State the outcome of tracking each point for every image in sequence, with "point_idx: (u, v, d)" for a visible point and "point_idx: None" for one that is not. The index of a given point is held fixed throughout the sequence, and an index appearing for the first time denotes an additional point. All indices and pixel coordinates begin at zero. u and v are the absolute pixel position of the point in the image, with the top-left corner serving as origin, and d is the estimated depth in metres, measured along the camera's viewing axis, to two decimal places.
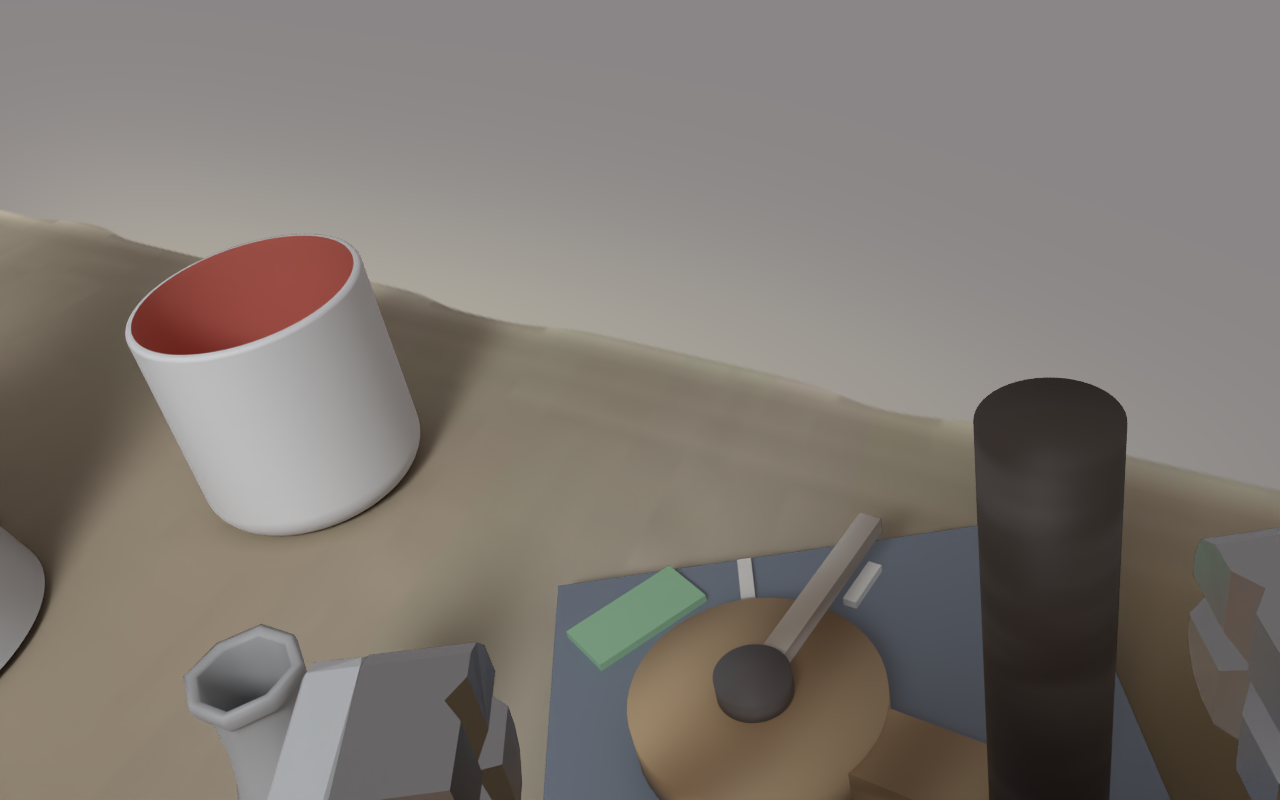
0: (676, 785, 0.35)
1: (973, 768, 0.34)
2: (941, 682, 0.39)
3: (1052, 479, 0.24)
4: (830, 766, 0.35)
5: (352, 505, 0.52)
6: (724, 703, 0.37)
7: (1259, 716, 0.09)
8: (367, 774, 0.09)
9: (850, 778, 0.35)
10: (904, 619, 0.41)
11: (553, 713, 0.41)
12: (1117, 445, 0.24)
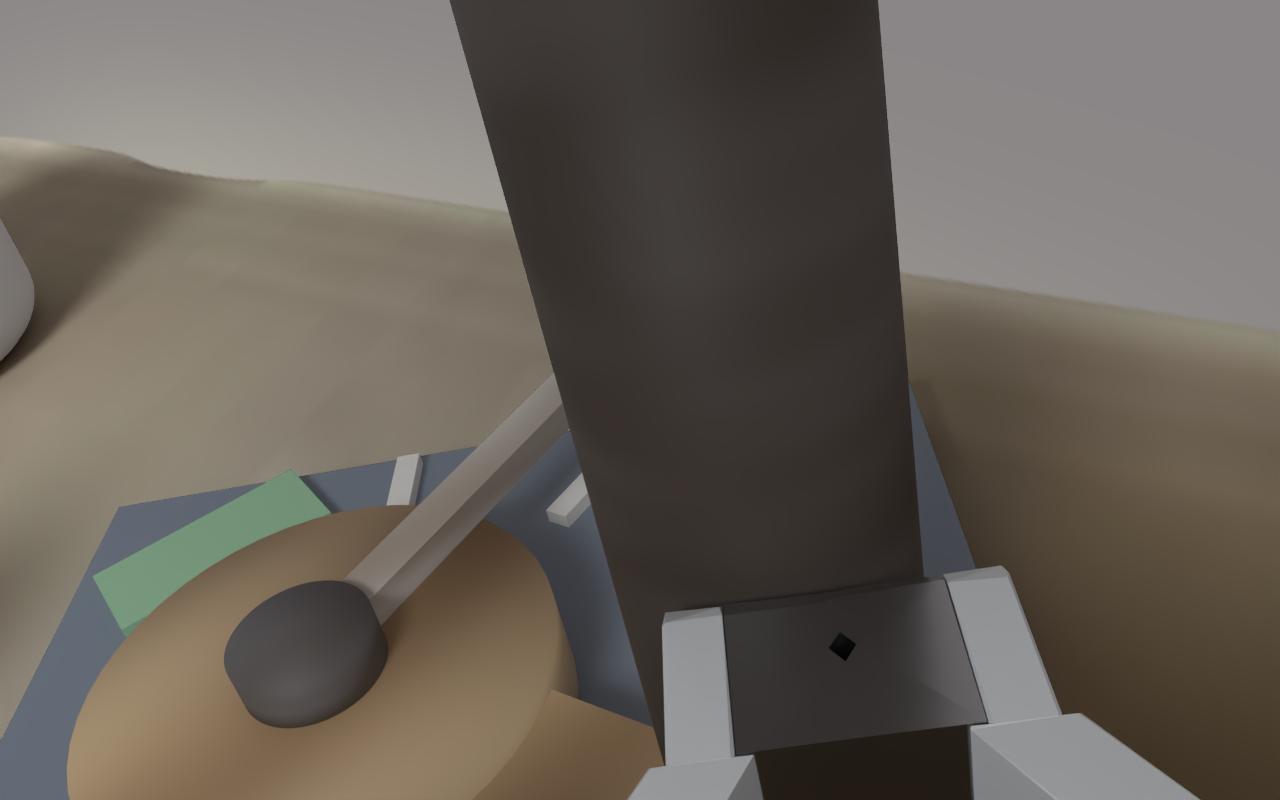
0: None
1: None
2: None
3: None
4: None
5: None
6: (238, 692, 0.19)
7: None
8: (769, 721, 0.09)
9: None
10: None
11: (20, 715, 0.23)
12: None
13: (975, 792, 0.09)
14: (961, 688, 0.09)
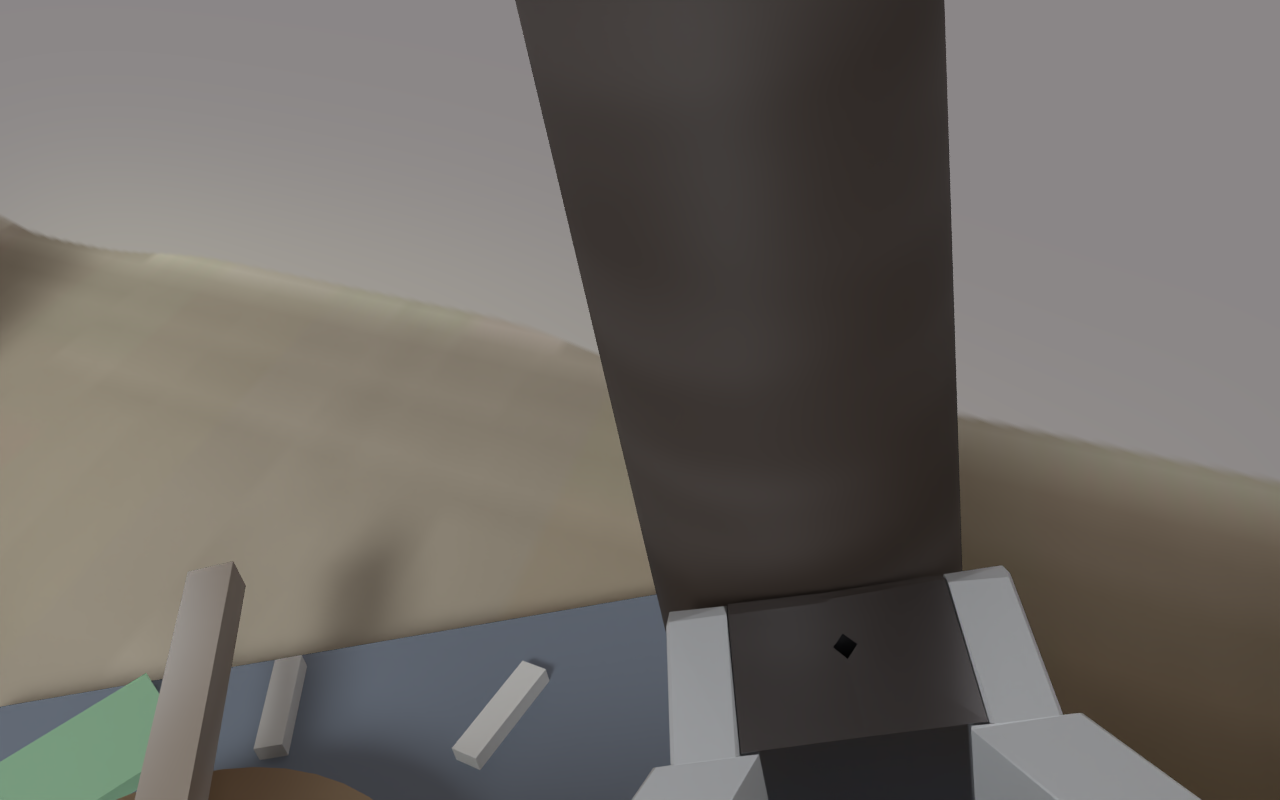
0: None
1: None
2: None
3: None
4: None
5: None
6: None
7: None
8: (775, 721, 0.09)
9: None
10: (570, 797, 0.19)
11: None
12: None
13: (975, 792, 0.09)
14: (962, 688, 0.09)
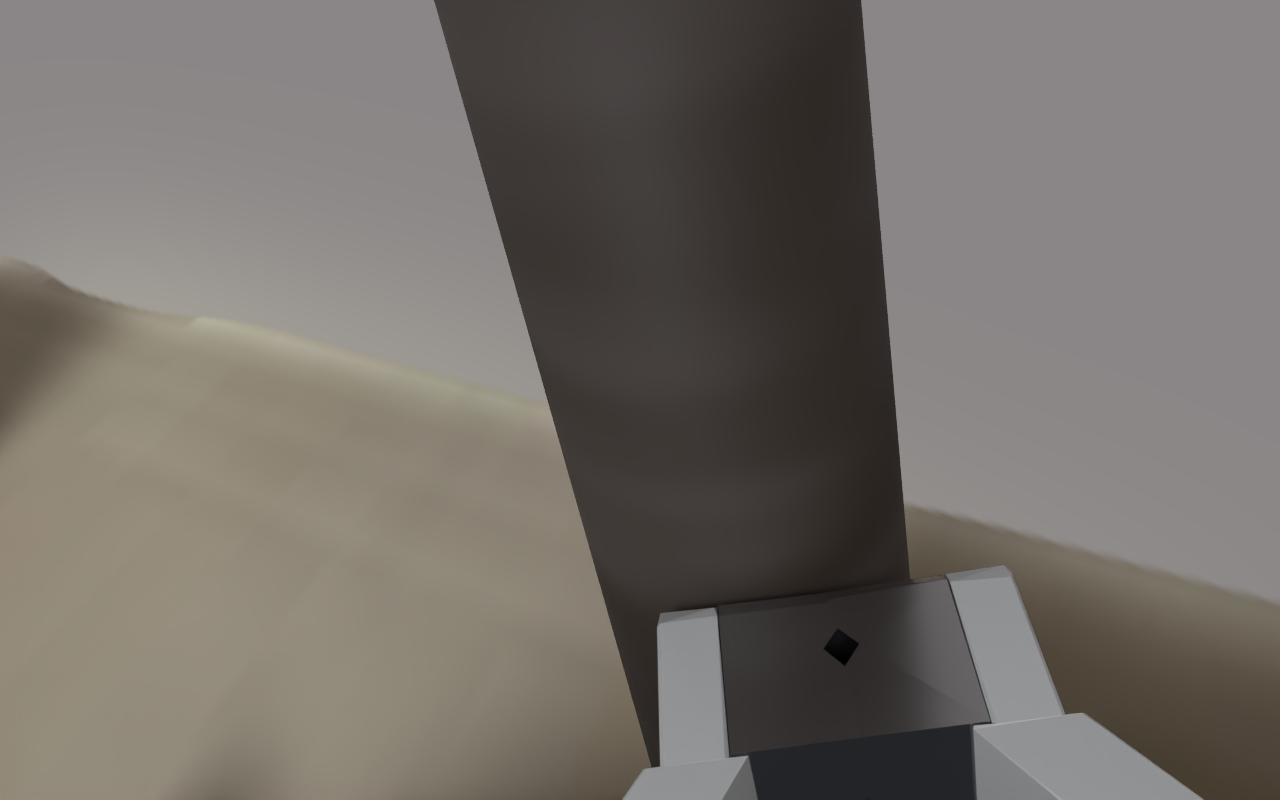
0: None
1: None
2: None
3: None
4: None
5: None
6: None
7: None
8: (764, 722, 0.09)
9: None
10: None
11: None
12: None
13: (978, 793, 0.09)
14: (964, 688, 0.09)
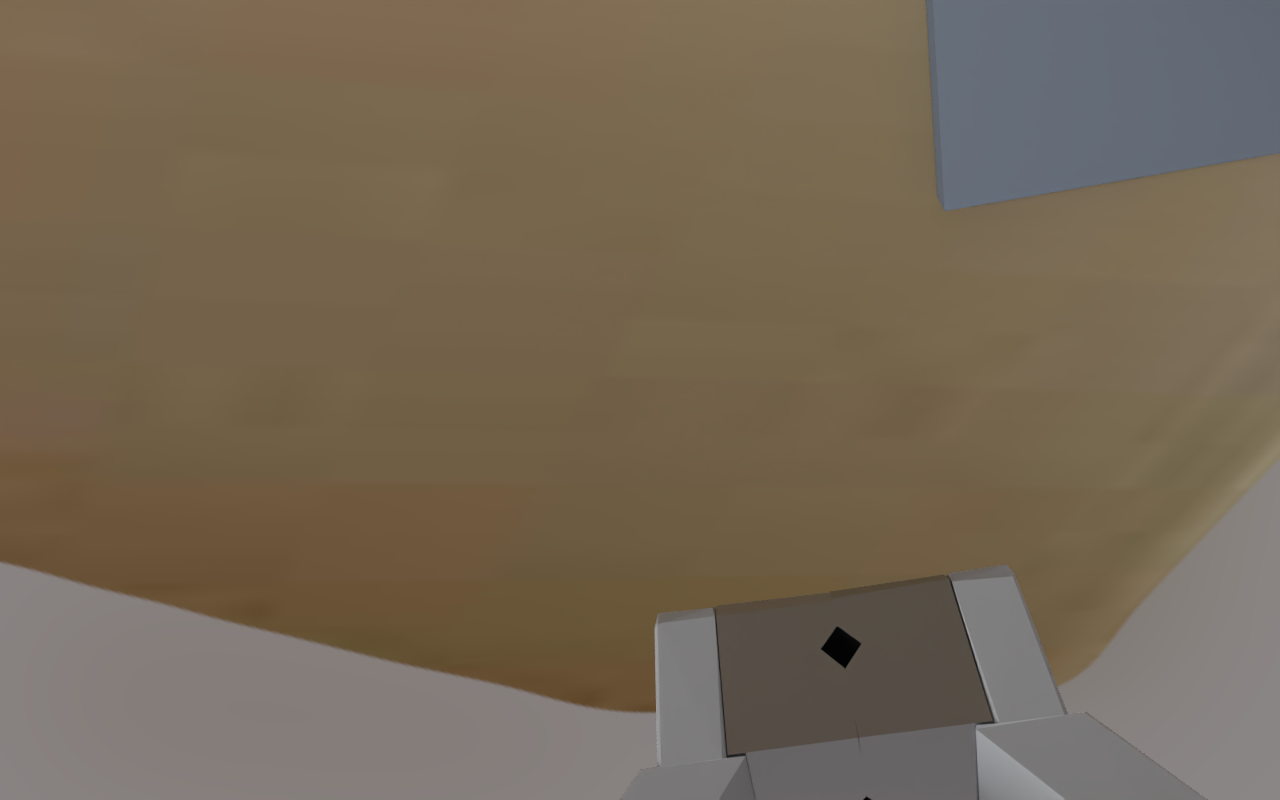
0: None
1: None
2: None
3: None
4: None
5: None
6: None
7: None
8: (761, 722, 0.09)
9: None
10: None
11: None
12: None
13: (979, 792, 0.09)
14: (966, 687, 0.09)
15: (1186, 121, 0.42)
